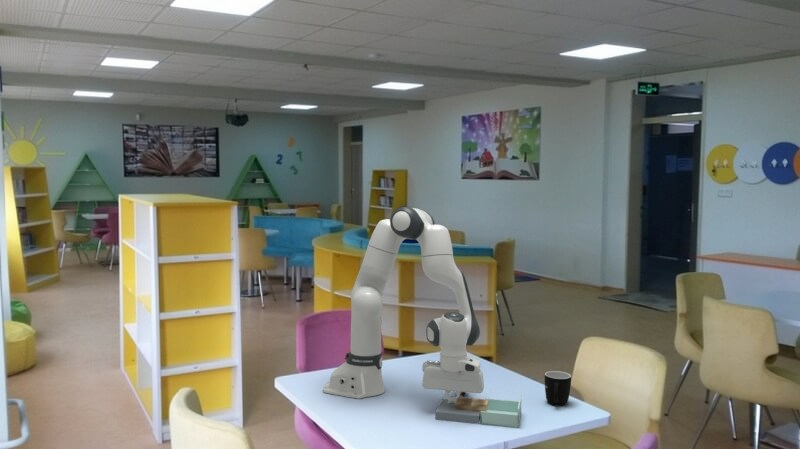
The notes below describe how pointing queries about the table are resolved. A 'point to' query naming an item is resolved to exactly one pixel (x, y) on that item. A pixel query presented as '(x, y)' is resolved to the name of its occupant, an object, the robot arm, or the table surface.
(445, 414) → the board
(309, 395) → the table surface
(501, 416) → the bin
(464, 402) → the tile
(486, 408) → the tile
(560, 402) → the mug
